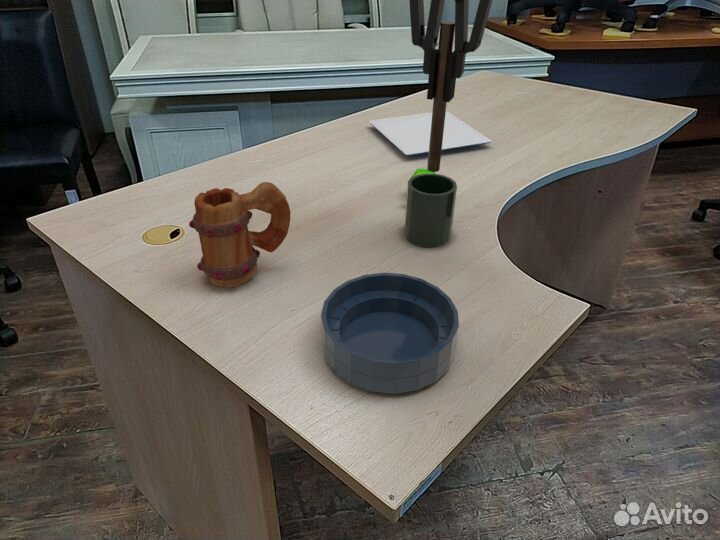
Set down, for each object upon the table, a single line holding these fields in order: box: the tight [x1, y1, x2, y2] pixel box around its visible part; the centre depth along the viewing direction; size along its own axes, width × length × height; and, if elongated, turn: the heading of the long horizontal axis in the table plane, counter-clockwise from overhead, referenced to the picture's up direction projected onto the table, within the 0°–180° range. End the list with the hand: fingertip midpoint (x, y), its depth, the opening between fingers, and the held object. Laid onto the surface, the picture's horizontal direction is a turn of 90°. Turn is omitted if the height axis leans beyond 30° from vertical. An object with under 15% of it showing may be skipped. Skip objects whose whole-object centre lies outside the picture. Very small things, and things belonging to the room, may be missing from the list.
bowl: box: [320, 272, 460, 395], centre depth 68 cm, size 17×17×6 cm
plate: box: [368, 110, 493, 157], centre depth 129 cm, size 22×22×2 cm
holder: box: [404, 173, 458, 249], centre depth 90 cm, size 8×8×10 cm
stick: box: [426, 20, 455, 173], centre depth 79 cm, size 2×2×22 cm
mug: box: [188, 181, 291, 288], centre depth 79 cm, size 15×8×15 cm, turn 108°
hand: (440, 97), depth 79 cm, fingers closed on stick, 2 cm apart
